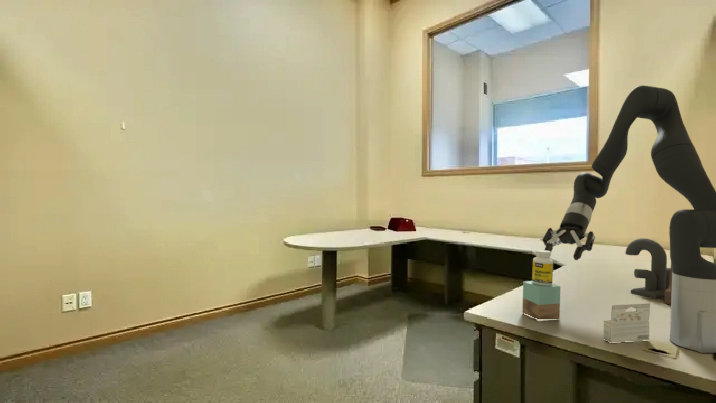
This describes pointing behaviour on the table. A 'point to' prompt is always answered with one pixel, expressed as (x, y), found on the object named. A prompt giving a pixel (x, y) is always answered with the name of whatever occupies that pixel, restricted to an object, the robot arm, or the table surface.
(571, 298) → the table surface
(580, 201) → the robot arm
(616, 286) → the table surface
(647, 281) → the faucet
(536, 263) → the supplement bottle
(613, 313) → the ink cartridge box
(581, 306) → the table surface
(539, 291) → the tower top block
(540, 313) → the tower bottom block
